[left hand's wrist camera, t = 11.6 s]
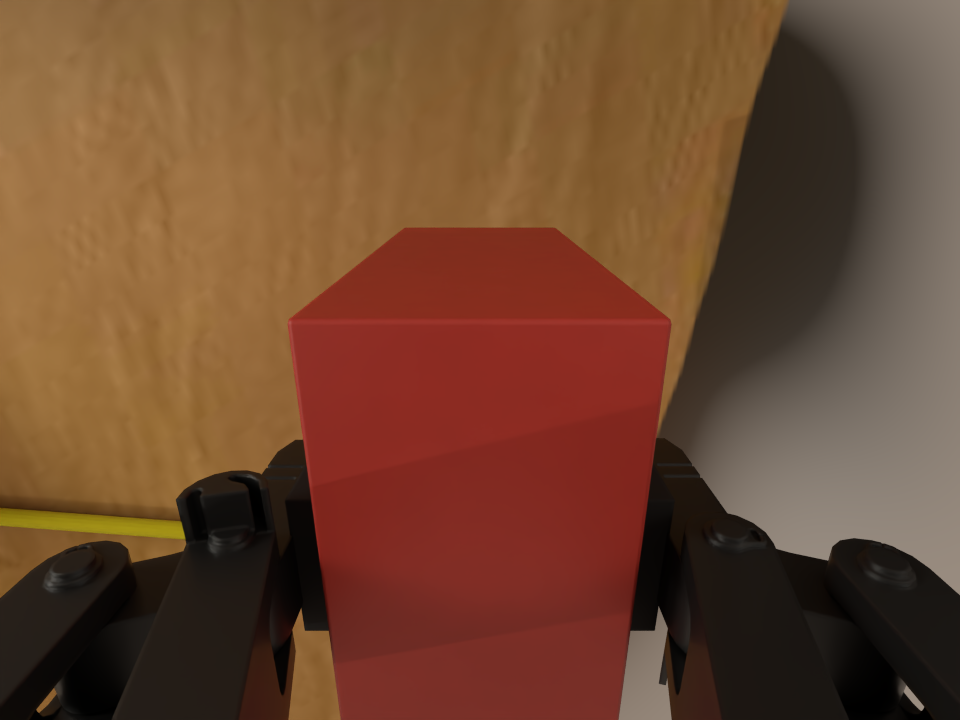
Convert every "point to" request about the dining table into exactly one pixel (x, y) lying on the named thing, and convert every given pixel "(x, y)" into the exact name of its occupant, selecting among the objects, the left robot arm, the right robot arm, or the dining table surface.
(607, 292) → the block
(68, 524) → the pencil
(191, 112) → the dining table surface
